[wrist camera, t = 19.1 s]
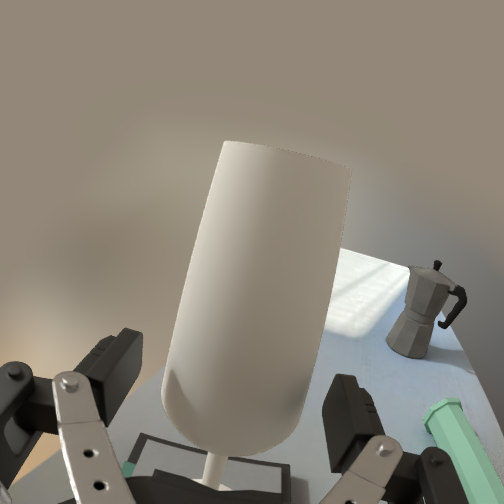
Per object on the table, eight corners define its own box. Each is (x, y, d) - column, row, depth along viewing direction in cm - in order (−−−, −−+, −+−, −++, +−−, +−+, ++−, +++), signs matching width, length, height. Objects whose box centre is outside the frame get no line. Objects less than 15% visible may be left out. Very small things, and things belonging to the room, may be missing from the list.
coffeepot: (370, 332, 60) (399, 246, 55) (399, 329, 63) (427, 251, 59) (421, 375, 46) (463, 277, 41) (448, 366, 50) (485, 279, 45)
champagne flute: (225, 561, 13) (382, 169, 7) (140, 518, 15) (157, 128, 9) (260, 499, 19) (377, 181, 13) (186, 466, 22) (241, 149, 15)
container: (546, 539, 7) (464, 391, 31) (493, 571, 8) (425, 404, 32) (519, 560, 8) (456, 421, 32) (470, 586, 9) (419, 433, 33)
